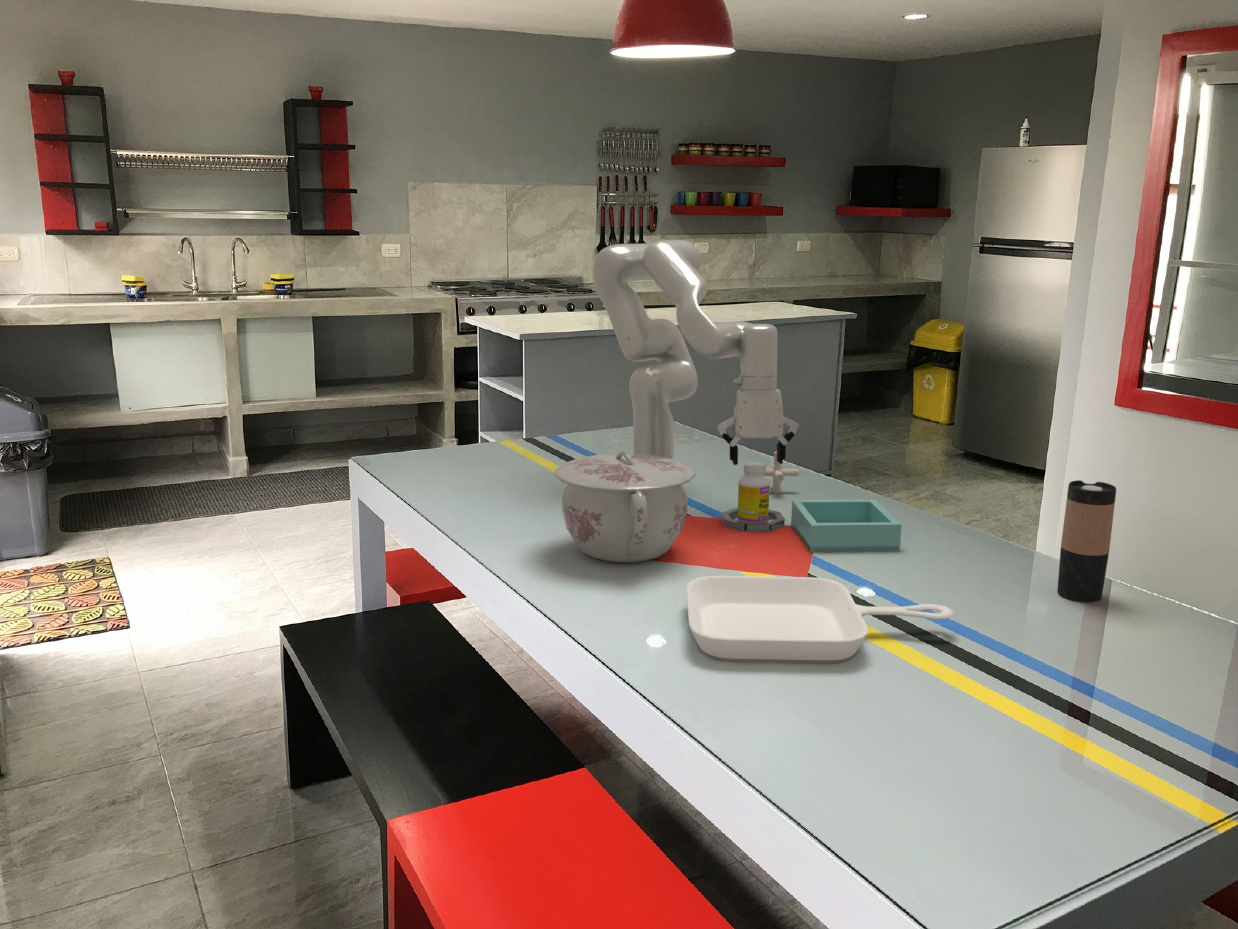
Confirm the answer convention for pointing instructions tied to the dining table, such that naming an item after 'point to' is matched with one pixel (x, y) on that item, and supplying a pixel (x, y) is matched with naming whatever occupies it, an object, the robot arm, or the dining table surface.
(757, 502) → the supplement bottle
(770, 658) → the pan
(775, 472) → the pipe connector
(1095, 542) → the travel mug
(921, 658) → the dining table surface
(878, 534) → the bin
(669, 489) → the chamber pot
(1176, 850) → the dining table surface
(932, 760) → the dining table surface
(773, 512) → the collar
